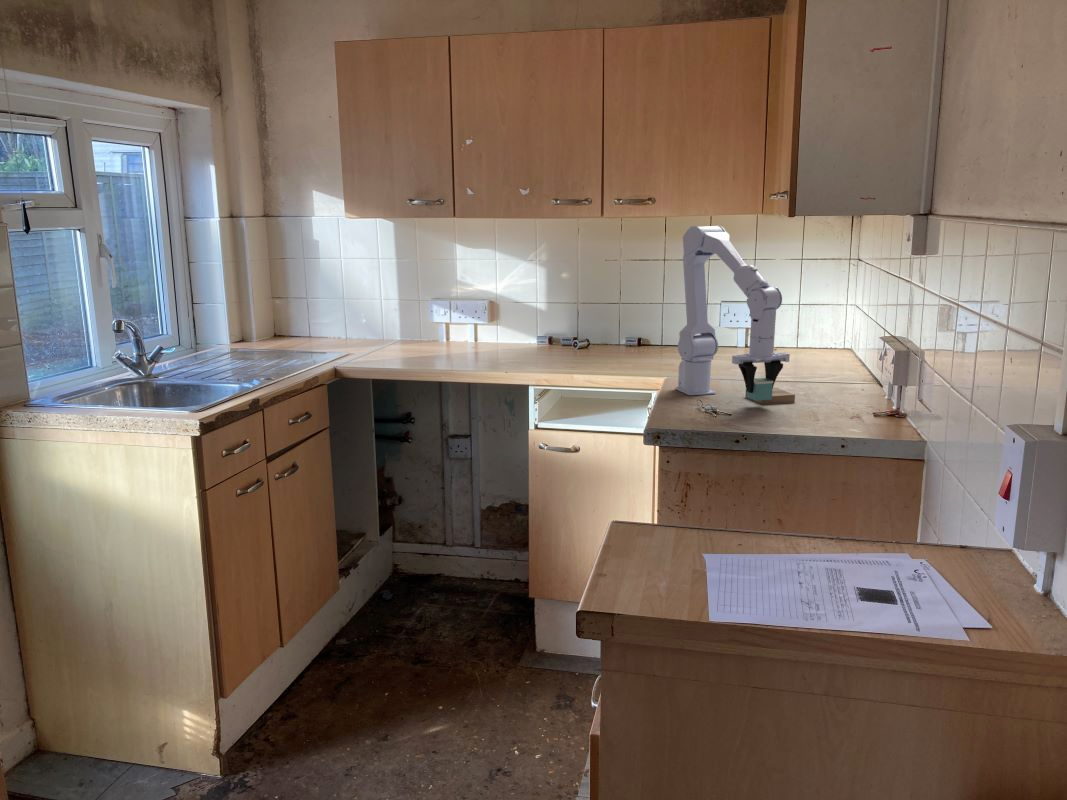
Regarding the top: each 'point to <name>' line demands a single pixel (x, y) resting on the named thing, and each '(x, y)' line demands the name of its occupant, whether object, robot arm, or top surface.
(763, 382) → the teal tin
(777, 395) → the walnut block
